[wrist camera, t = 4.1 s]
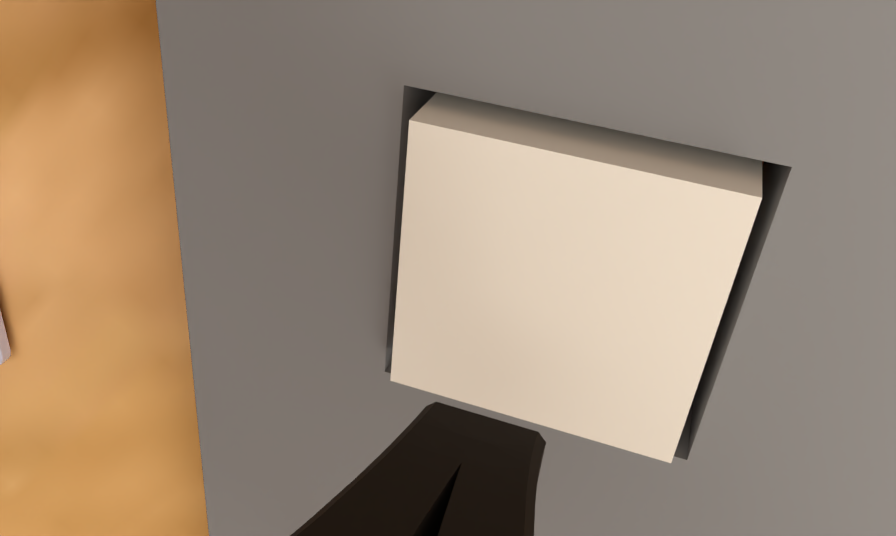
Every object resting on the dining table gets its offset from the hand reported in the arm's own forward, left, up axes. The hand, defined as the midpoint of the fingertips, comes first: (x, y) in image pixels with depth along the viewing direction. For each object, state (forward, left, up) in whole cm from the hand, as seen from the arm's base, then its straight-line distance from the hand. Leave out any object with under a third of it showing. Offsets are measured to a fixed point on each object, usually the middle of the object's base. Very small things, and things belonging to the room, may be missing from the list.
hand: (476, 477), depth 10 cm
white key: (0, 0, -7) cm, 7 cm away
